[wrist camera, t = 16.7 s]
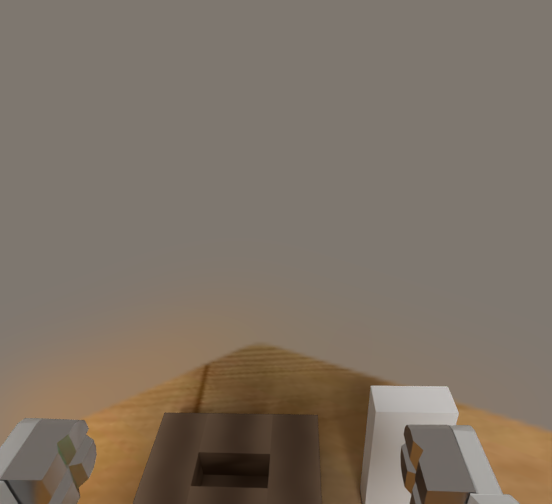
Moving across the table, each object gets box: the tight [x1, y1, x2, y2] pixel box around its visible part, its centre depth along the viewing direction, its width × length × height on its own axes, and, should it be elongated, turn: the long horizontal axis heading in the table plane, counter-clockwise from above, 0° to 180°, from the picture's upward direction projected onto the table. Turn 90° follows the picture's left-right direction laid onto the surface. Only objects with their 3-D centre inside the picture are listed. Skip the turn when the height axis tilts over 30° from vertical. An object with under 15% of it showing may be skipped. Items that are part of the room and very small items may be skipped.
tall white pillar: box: [360, 386, 459, 504], centre depth 34 cm, size 6×2×14 cm, turn 87°
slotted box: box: [133, 413, 322, 504], centre depth 37 cm, size 16×12×4 cm
